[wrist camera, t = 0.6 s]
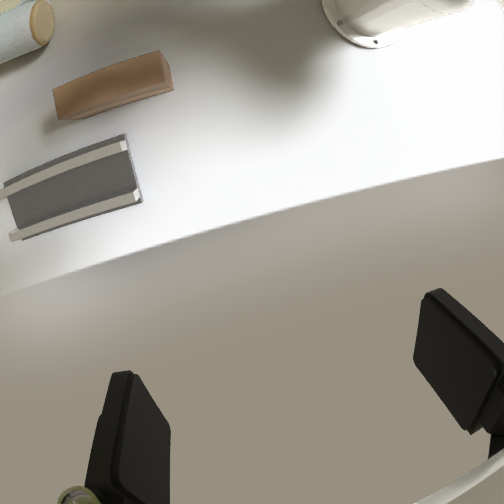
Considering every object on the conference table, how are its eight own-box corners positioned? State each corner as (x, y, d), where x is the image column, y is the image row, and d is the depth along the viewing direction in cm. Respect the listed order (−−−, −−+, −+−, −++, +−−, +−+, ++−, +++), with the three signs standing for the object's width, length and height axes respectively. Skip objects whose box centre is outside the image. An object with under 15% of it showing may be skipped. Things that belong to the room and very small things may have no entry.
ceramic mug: (56, 49, 28) (29, 38, 21) (9, 67, 27) (-21, 61, 20) (62, -13, 24) (39, -32, 17) (15, 6, 23) (-11, -7, 16)
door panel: (79, 94, 32) (52, 89, 24) (168, 64, 32) (159, 50, 25) (84, 118, 33) (58, 119, 26) (173, 90, 34) (165, 81, 26)
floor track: (6, 181, 34) (-6, 187, 31) (125, 133, 35) (118, 134, 32) (25, 238, 37) (14, 247, 34) (143, 200, 38) (137, 208, 35)
